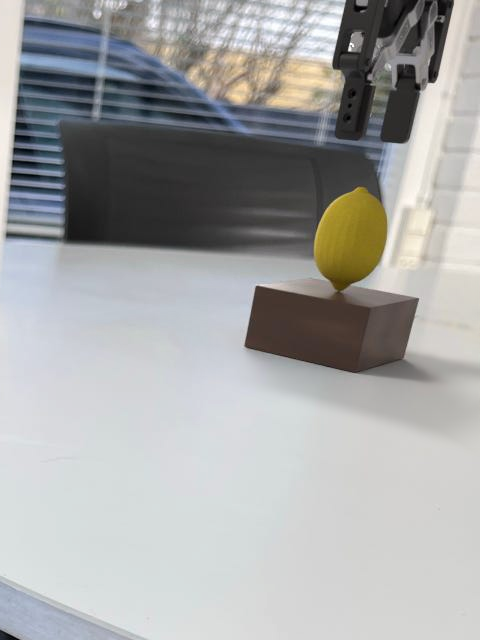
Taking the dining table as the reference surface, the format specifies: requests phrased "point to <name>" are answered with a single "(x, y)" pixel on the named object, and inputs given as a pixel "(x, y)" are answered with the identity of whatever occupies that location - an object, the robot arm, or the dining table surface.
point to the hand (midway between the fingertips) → (372, 141)
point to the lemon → (350, 238)
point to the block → (330, 323)
